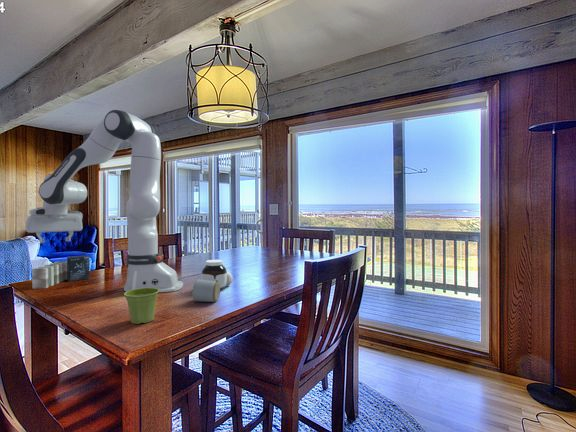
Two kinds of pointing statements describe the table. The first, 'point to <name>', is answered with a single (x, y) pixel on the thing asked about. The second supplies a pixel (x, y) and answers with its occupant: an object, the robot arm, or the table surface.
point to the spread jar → (216, 273)
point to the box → (78, 268)
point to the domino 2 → (50, 274)
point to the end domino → (64, 269)
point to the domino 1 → (39, 278)
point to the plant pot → (141, 304)
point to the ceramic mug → (206, 291)
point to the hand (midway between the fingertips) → (55, 242)
